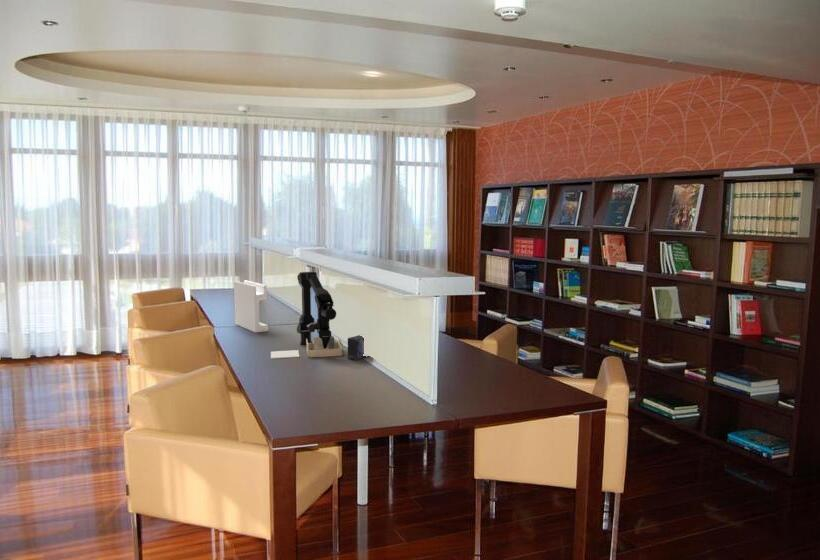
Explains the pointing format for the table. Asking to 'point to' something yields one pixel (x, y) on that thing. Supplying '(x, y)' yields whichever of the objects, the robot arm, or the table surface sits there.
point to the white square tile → (284, 354)
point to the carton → (325, 350)
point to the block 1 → (249, 305)
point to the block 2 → (319, 344)
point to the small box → (356, 347)
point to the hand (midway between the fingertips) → (324, 346)
